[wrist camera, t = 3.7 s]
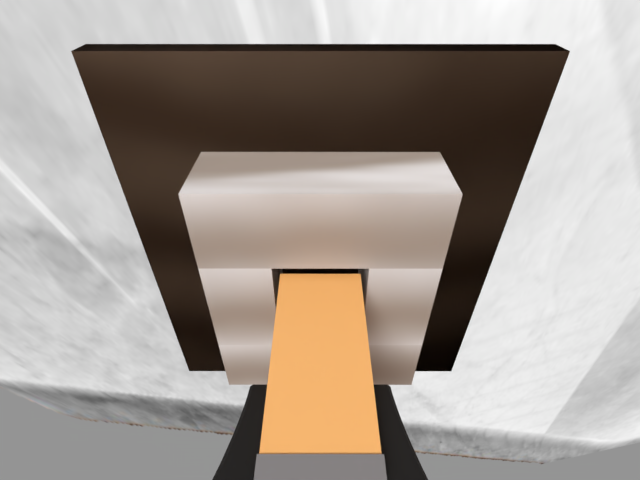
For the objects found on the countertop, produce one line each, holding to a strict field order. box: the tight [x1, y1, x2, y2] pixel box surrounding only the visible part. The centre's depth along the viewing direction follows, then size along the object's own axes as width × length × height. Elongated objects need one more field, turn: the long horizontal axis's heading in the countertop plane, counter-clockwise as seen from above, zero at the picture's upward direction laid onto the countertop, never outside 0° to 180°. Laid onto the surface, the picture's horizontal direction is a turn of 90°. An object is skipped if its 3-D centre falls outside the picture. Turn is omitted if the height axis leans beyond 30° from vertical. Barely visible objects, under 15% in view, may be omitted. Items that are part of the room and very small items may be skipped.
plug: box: [254, 274, 387, 480], centre depth 13 cm, size 4×3×7 cm
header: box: [71, 44, 570, 385], centre depth 17 cm, size 18×16×4 cm
